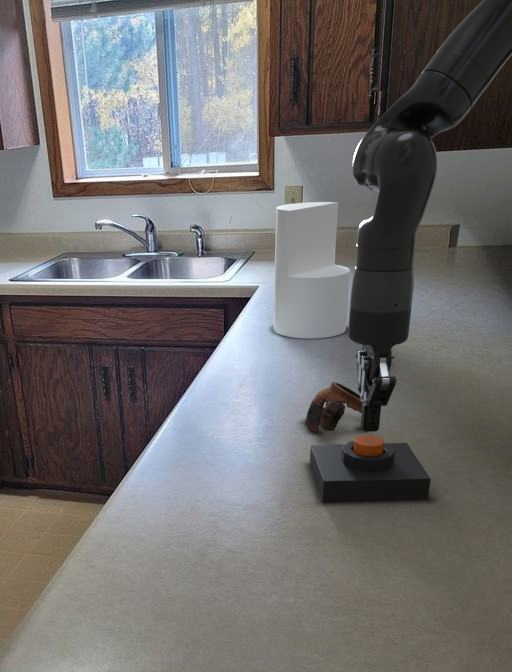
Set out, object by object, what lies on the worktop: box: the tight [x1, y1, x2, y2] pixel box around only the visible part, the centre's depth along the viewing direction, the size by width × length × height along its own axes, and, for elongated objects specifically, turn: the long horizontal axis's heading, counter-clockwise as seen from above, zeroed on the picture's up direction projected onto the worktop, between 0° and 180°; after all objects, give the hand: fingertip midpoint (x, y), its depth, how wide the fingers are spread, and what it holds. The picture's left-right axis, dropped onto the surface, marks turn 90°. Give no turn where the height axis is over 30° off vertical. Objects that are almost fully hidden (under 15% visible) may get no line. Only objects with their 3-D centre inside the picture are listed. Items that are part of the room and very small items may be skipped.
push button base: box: [309, 440, 431, 503], centre depth 104 cm, size 14×12×5 cm
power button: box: [353, 434, 385, 456], centre depth 102 cm, size 4×4×2 cm
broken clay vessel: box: [304, 381, 363, 433], centre depth 121 cm, size 12×10×8 cm
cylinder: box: [273, 201, 351, 339], centre depth 173 cm, size 17×17×28 cm
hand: (369, 429), depth 101 cm, fingers closed
